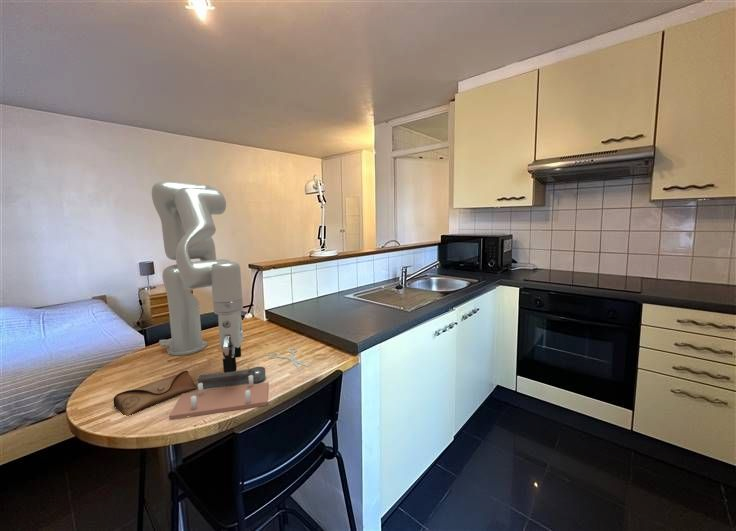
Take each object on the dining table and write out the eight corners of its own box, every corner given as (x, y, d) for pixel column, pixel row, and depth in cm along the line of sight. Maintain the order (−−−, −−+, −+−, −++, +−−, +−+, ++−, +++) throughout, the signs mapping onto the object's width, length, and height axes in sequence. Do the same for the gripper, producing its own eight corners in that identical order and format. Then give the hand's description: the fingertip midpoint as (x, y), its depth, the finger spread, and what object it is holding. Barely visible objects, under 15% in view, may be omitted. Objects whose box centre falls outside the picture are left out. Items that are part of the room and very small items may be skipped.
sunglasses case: (124, 419, 73) (117, 391, 75) (117, 423, 78) (111, 397, 79) (202, 387, 88) (194, 364, 89) (193, 392, 92) (186, 370, 93)
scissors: (292, 346, 116) (321, 363, 101) (292, 348, 116) (321, 366, 101) (264, 354, 109) (291, 374, 94) (265, 356, 109) (292, 376, 94)
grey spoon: (197, 391, 85) (196, 381, 85) (201, 383, 90) (200, 373, 90) (265, 382, 90) (264, 373, 90) (266, 374, 95) (265, 365, 94)
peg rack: (169, 419, 73) (167, 404, 73) (182, 397, 83) (181, 383, 82) (266, 405, 79) (266, 390, 78) (268, 385, 88) (267, 372, 88)
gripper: (238, 312, 80) (243, 375, 82) (246, 298, 96) (249, 351, 98) (206, 315, 78) (212, 380, 80) (219, 300, 94) (224, 354, 96)
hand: (233, 364), depth 89 cm, fingers open, 9 cm apart
